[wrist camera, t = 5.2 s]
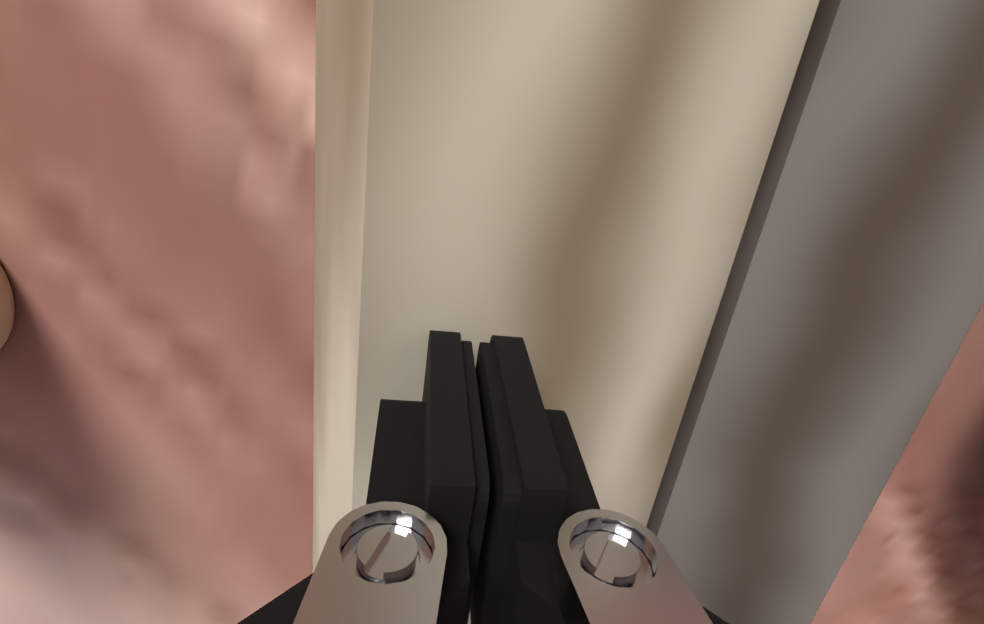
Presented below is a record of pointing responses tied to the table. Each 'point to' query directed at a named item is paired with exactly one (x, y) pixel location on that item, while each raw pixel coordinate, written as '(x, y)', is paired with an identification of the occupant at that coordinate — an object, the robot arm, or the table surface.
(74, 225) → the table surface
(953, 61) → the floor board
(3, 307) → the candle
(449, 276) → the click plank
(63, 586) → the table surface
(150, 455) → the table surface
